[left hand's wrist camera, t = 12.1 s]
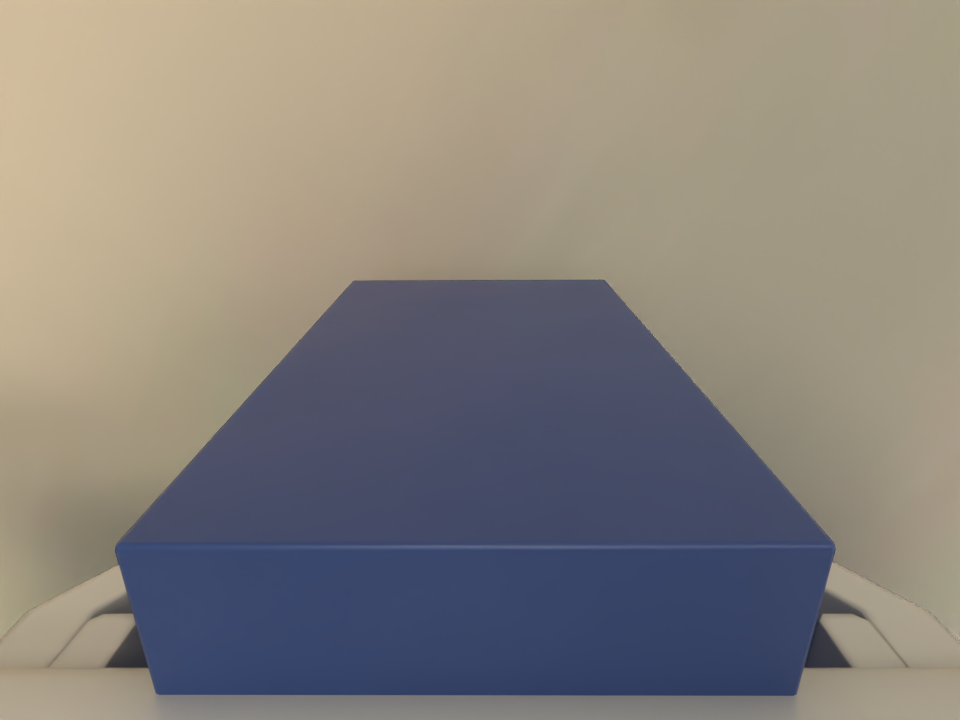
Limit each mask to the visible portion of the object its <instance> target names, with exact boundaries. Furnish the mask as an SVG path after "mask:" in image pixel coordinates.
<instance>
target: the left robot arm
mask: <svg viewBox="0 0 960 720" xmlns="http://www.w3.org/2000/svg"><path fill="white" fill-rule="evenodd" d="M0 720H960V642H959V641H958V640H957V639H956V638H955V637H954V636H953V635H952V634H951V633H950V632H949V631H948V630H947V629H946V628H945V627H944V626H943V625H942V624H941V623H940V622H939V621H938V620H937V619H936V618H935V617H934V615H933V614H932V613H931V612H929V611H927V610H925V609H923V608H921V607H919V606H917V605H916V604H914V603H912V602H910V601H908V600H906V599H904V598H902V597H900V596H898V595H896V594H894V593H892V592H890V591H888V590H887V589H885V588H883V587H881V586H879V585H877V584H875V583H873V582H871V581H869V580H867V579H865V578H863V577H861V576H860V575H858V574H856V573H854V572H852V571H850V570H848V569H846V568H844V567H842V566H840V565H838V564H836V563H834V562H832V565H831V568H830V572H829V576H828V579H827V583H826V587H825V591H824V594H823V598H822V602H821V605H820V609H819V613H818V617H817V620H816V624H815V628H814V632H813V635H812V639H811V643H810V646H809V650H808V654H807V658H806V661H805V665H804V669H803V673H802V676H801V680H800V684H799V687H798V691H797V694H796V695H794V696H594V695H159V694H156V693H155V689H154V686H153V682H152V679H151V675H150V672H149V668H148V665H147V661H146V658H145V654H144V651H143V647H142V644H141V640H140V637H139V633H138V630H137V626H136V623H135V619H134V616H133V612H132V609H131V605H130V602H129V598H128V595H127V591H126V588H125V584H124V581H123V577H122V574H121V570H120V567H119V564H118V565H117V566H115V567H113V568H111V569H109V570H107V571H105V572H103V573H101V574H99V575H97V576H95V577H93V578H91V579H89V580H87V581H85V582H83V583H81V584H80V585H78V586H76V587H74V588H72V589H70V590H68V591H66V592H64V593H62V594H60V595H58V596H56V597H54V598H52V599H50V600H48V601H46V602H45V603H43V604H41V605H39V606H37V607H35V608H33V609H31V610H29V611H27V612H26V613H25V614H24V615H23V616H22V617H21V618H20V619H19V620H18V621H17V622H16V624H15V625H14V626H13V627H12V628H11V629H10V630H9V631H8V632H7V633H6V634H5V635H4V636H3V637H2V638H1V639H0Z"/></svg>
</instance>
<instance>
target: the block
mask: <svg viewBox="0 0 960 720" xmlns="http://www.w3.org/2000/svg"><path fill="white" fill-rule="evenodd" d="M115 553H116V556H117V560H118V563H119V567H120V570H121V574H122V577H123V581H124V584H125V588H126V591H127V595H128V598H129V602H130V605H131V609H132V612H133V616H134V619H135V623H136V626H137V630H138V633H139V637H140V640H141V644H142V647H143V651H144V654H145V658H146V661H147V665H148V668H149V672H150V675H151V679H152V682H153V686H154V689H155V693H156V694H159V695H594V696H794V695H796V694H797V691H798V687H799V684H800V680H801V676H802V673H803V669H804V665H805V661H806V658H807V654H808V650H809V646H810V643H811V639H812V635H813V632H814V628H815V624H816V620H817V617H818V613H819V609H820V605H821V602H822V598H823V594H824V591H825V587H826V583H827V579H828V576H829V572H830V568H831V565H832V561H833V557H834V553H835V545H834V542H833V541H832V540H831V539H830V538H829V536H828V535H827V534H826V533H825V532H824V531H823V530H822V528H821V527H820V526H819V525H818V524H817V523H816V522H815V520H814V519H813V518H812V517H811V516H810V515H809V514H808V512H807V511H806V510H805V509H804V508H803V507H802V506H801V504H800V503H799V502H798V501H797V500H796V499H795V498H794V496H793V495H792V494H791V493H790V492H789V491H788V490H787V488H786V487H785V486H784V485H783V484H782V483H781V482H780V480H779V479H778V478H777V477H776V476H775V475H774V474H773V472H772V471H771V470H770V469H769V468H768V467H767V466H766V464H765V463H764V462H763V461H762V460H761V459H760V457H759V456H758V455H757V454H756V453H755V452H754V451H753V449H752V448H751V447H750V446H749V445H748V444H747V443H746V441H745V440H744V439H743V438H742V437H741V436H740V435H739V433H738V432H737V431H736V430H735V429H734V428H733V427H732V425H731V424H730V423H729V422H728V421H727V420H726V419H725V417H724V416H723V415H722V414H721V413H720V412H719V411H718V409H717V408H716V407H715V406H714V405H713V404H712V403H711V401H710V400H709V399H708V398H707V397H706V396H705V395H704V393H703V392H702V391H701V390H700V389H699V388H698V387H697V385H696V384H695V383H694V382H693V381H692V380H691V378H690V377H689V376H688V375H687V374H686V373H685V372H684V370H683V369H682V368H681V367H680V366H679V365H678V364H677V362H676V361H675V360H674V359H673V358H672V357H671V356H670V354H669V353H668V352H667V351H666V350H665V349H664V348H663V346H662V345H661V344H660V343H659V342H658V341H657V340H656V338H655V337H654V336H653V335H652V334H651V333H650V332H649V330H648V329H647V328H646V327H645V326H644V325H643V324H642V322H641V321H640V320H639V319H638V318H637V317H636V316H635V314H634V313H633V312H632V311H631V310H630V309H629V308H628V306H627V305H626V304H625V303H624V302H623V301H622V299H621V298H620V297H619V296H618V295H617V294H616V293H615V291H614V290H613V289H612V288H611V287H610V286H609V285H608V283H607V282H606V281H605V280H403V281H353V282H352V283H351V284H350V285H349V286H348V288H347V289H346V290H345V291H344V292H343V293H342V294H341V295H340V296H339V298H338V299H337V300H336V301H335V302H334V303H333V304H332V305H331V306H330V308H329V309H328V310H327V311H326V312H325V313H324V314H323V315H322V316H321V318H320V319H319V320H318V321H317V322H316V323H315V324H314V325H313V326H312V328H311V329H310V330H309V331H308V332H307V333H306V334H305V335H304V336H303V338H302V339H301V340H300V341H299V342H298V343H297V344H296V345H295V346H294V348H293V349H292V350H291V351H290V352H289V353H288V354H287V355H286V356H285V357H284V359H283V360H282V361H281V362H280V363H279V364H278V365H277V366H276V367H275V369H274V370H273V371H272V372H271V373H270V374H269V375H268V376H267V377H266V379H265V380H264V381H263V382H262V383H261V384H260V385H259V386H258V387H257V389H256V390H255V391H254V392H253V393H252V394H251V395H250V396H249V397H248V399H247V400H246V401H245V402H244V403H243V404H242V405H241V406H240V407H239V409H238V410H237V411H236V412H235V413H234V414H233V415H232V416H231V417H230V419H229V420H228V421H227V422H226V423H225V424H224V425H223V426H222V427H221V429H220V430H219V431H218V432H217V433H216V434H215V435H214V436H213V437H212V439H211V440H210V441H209V442H208V443H207V444H206V445H205V446H204V447H203V449H202V450H201V451H200V452H199V453H198V454H197V455H196V456H195V457H194V459H193V460H192V461H191V462H190V463H189V464H188V465H187V466H186V467H185V469H184V470H183V471H182V472H181V473H180V474H179V475H178V476H177V477H176V479H175V480H174V481H173V482H172V483H171V484H170V485H169V486H168V487H167V489H166V490H165V491H164V492H163V493H162V494H161V495H160V496H159V497H158V498H157V500H156V501H155V502H154V503H153V504H152V505H151V506H150V507H149V508H148V510H147V511H146V512H145V513H144V514H143V515H142V516H141V517H140V518H139V520H138V521H137V522H136V523H135V524H134V525H133V526H132V527H131V528H130V530H129V531H128V532H127V533H126V534H125V535H124V536H123V537H122V538H121V540H120V541H119V542H118V543H117V545H116V548H115Z"/></svg>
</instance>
